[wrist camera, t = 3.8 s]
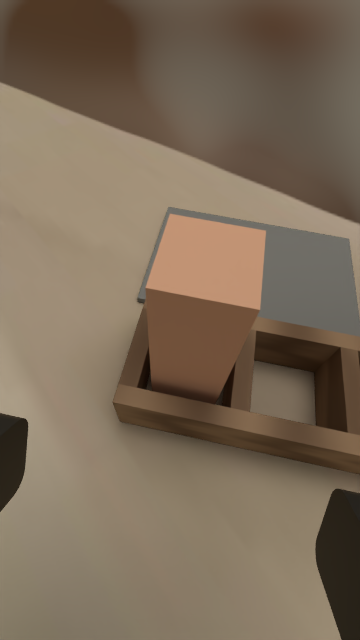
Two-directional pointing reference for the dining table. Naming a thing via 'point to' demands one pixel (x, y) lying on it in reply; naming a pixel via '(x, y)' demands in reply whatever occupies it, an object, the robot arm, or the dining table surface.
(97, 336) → the dining table surface
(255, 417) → the stand
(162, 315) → the block
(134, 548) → the dining table surface
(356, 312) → the mat
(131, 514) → the dining table surface
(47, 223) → the dining table surface
